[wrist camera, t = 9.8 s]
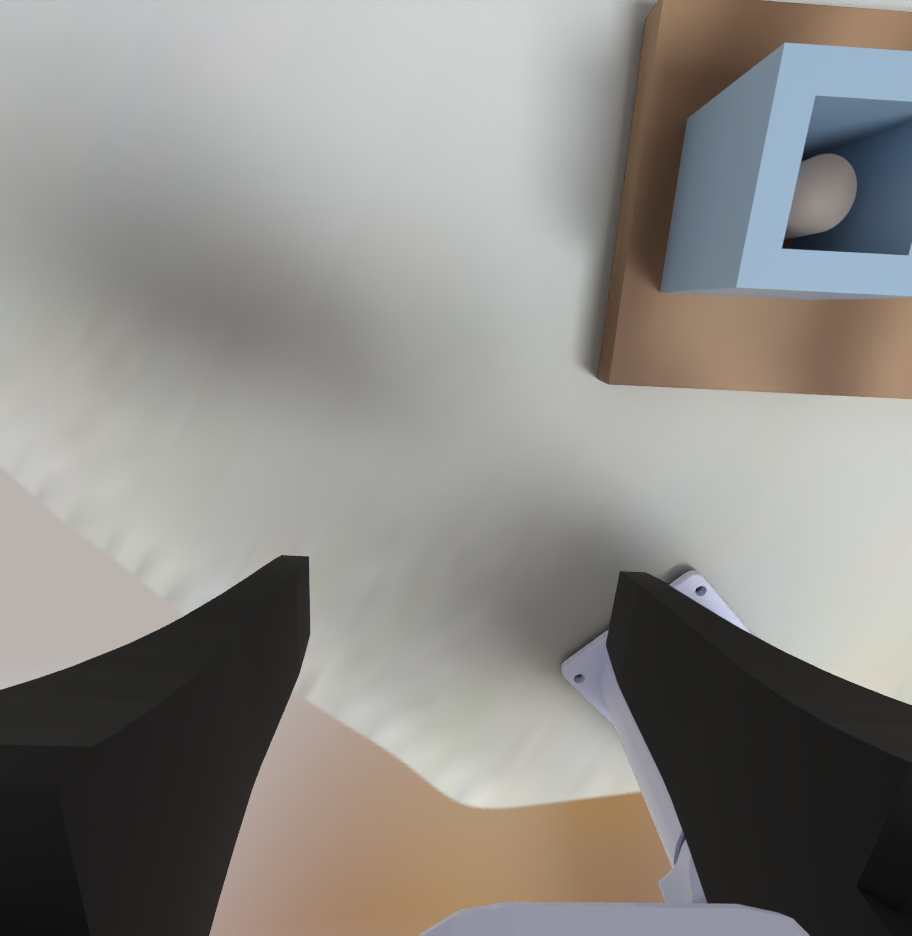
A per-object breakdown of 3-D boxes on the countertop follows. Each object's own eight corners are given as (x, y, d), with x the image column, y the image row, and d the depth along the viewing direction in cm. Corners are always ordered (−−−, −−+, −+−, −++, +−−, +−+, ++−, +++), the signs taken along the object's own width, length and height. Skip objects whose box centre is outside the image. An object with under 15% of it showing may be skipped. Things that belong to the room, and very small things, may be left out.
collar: (847, 128, 17) (1007, 58, 12) (806, 300, 18) (932, 297, 14) (687, 118, 17) (784, 42, 12) (659, 292, 18) (736, 287, 14)
